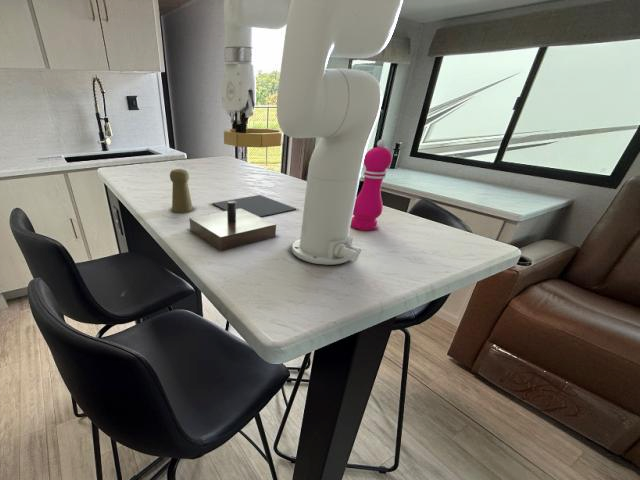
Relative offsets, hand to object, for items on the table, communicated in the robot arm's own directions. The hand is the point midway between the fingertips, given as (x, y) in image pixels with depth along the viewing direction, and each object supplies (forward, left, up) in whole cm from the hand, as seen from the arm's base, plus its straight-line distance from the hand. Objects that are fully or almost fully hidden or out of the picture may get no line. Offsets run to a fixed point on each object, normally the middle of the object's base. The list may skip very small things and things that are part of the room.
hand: (239, 139), depth 90 cm
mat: (-6, -1, -18) cm, 19 cm away
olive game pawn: (+3, +18, -18) cm, 25 cm away
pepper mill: (-35, -15, -18) cm, 42 cm away
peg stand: (-21, +16, -18) cm, 32 cm away
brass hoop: (-7, 0, +1) cm, 7 cm away
